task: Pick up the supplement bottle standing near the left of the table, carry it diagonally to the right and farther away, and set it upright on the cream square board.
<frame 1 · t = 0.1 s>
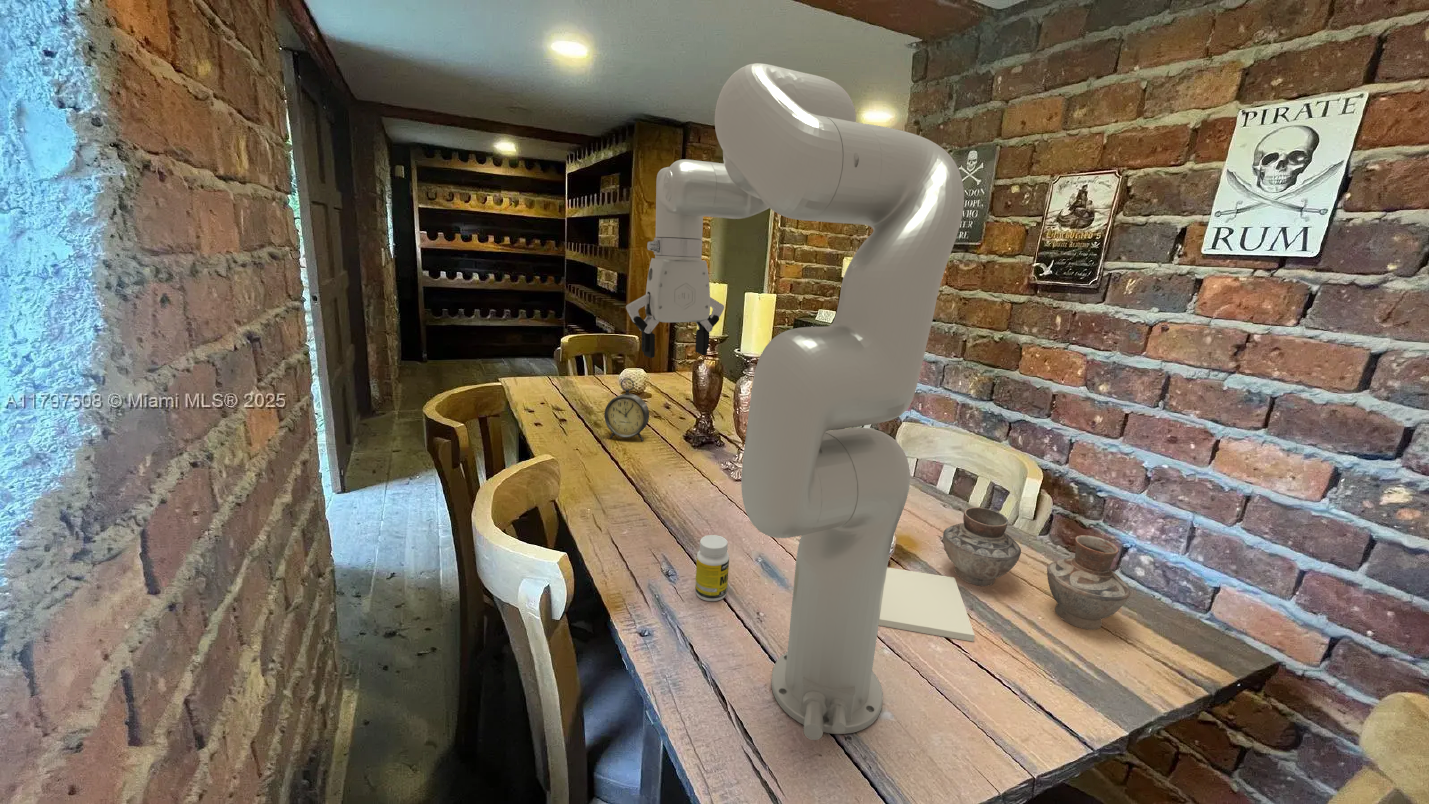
hand: (675, 355, 95), 31 cm above the table, tool pointing down, fingers open, 9 cm apart
cream board: (912, 601, 82), on the table
alarm clock: (627, 439, 146), on the table
supplement bottle: (711, 593, 82), on the table
pottery: (1020, 596, 86), on the table
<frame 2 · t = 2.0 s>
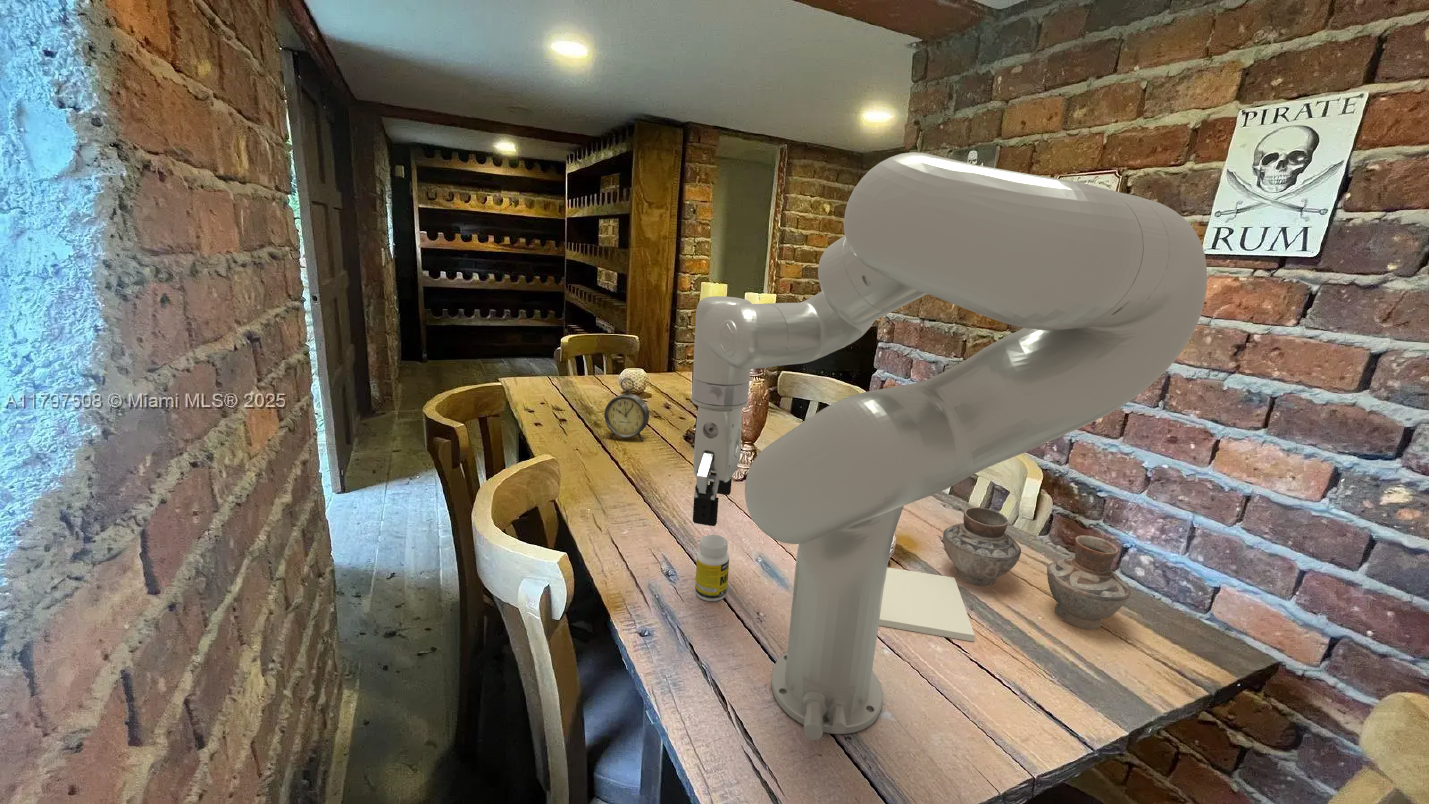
hand: (712, 507, 79), 13 cm above the table, tool pointing down, fingers open, 9 cm apart
nothing on the table moved.
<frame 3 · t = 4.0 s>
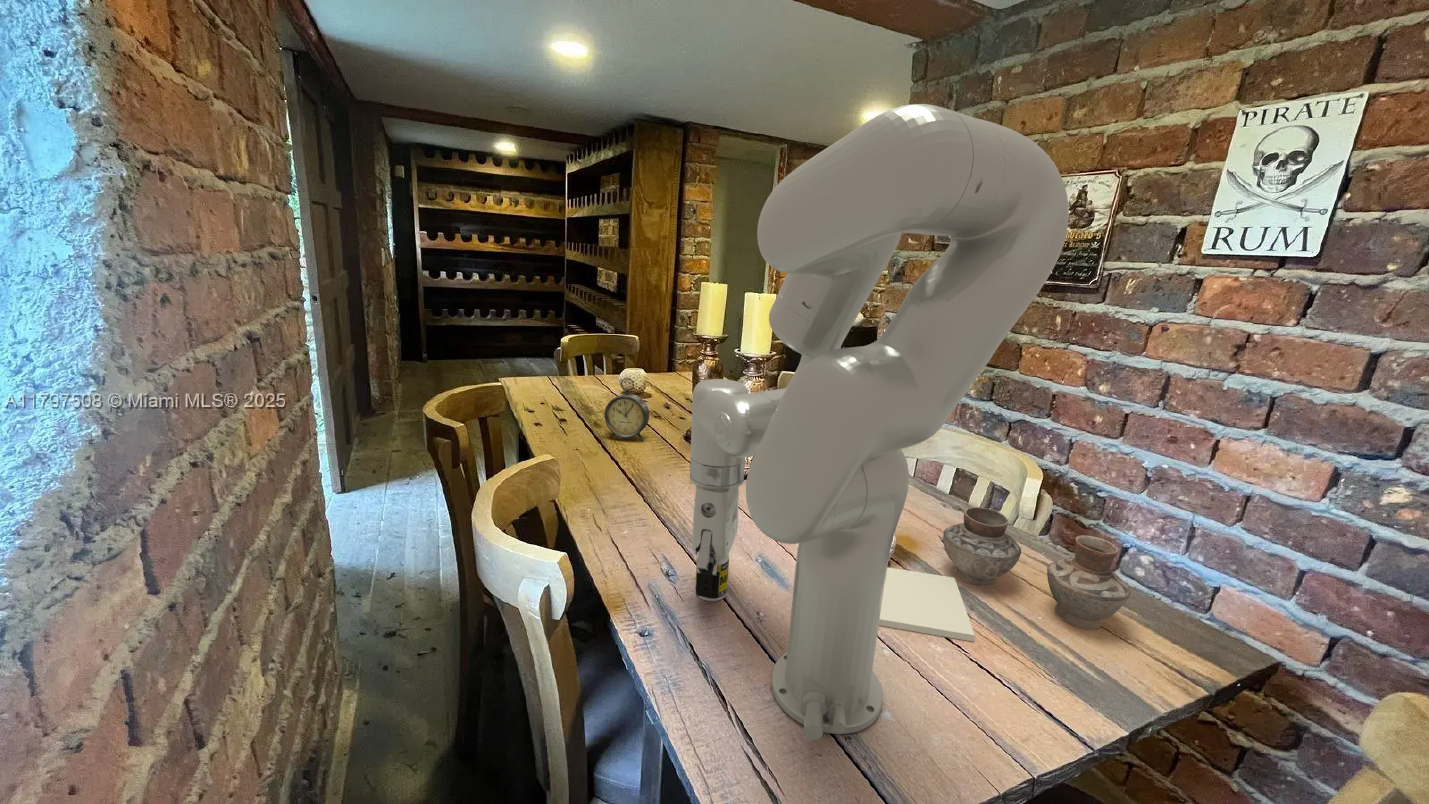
hand: (711, 583, 82), 1 cm above the table, tool pointing down, fingers closed on supplement bottle, 4 cm apart
supplement bottle: (711, 593, 82), on the table, touching gripper
everything else where it was.
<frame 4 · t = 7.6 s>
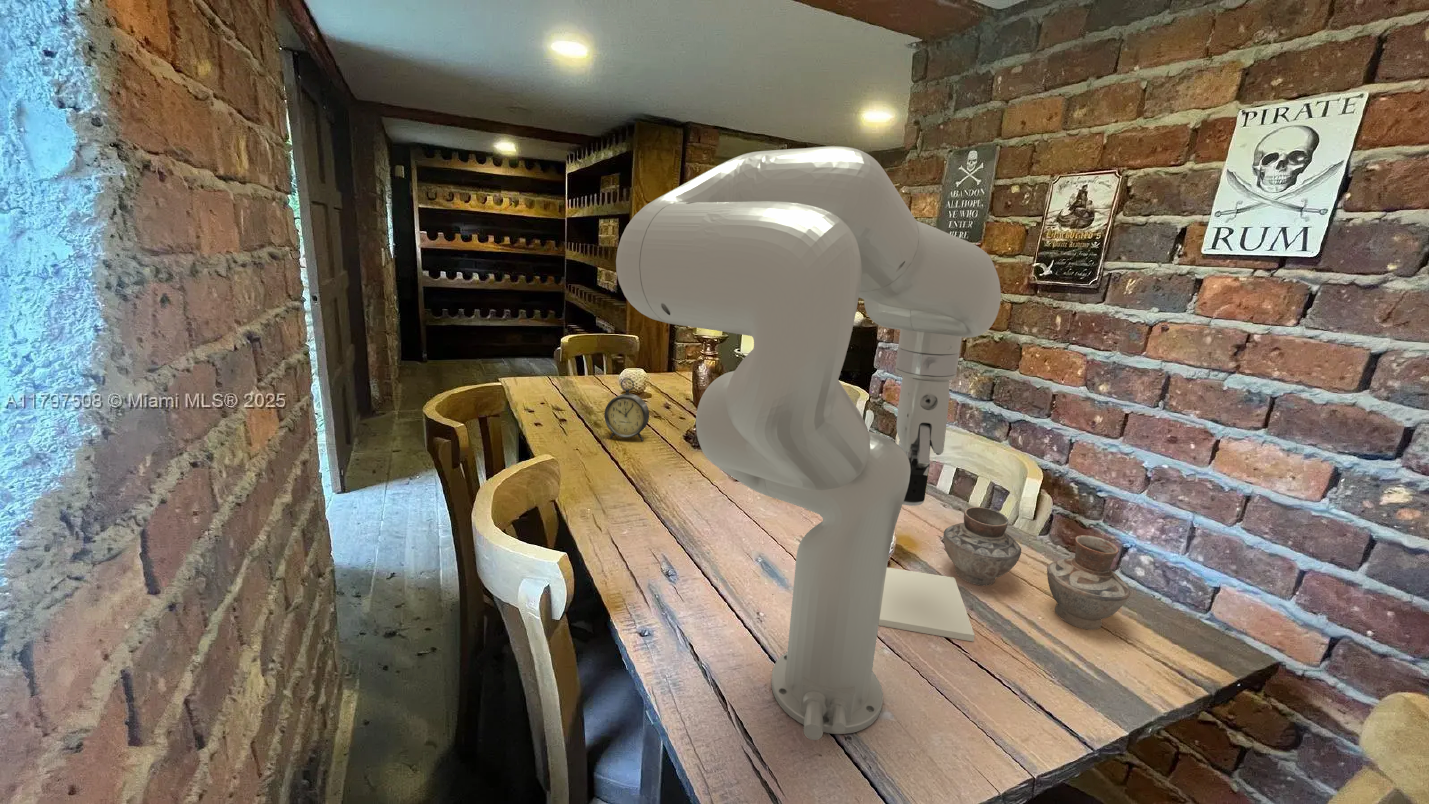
hand: (908, 489, 78), 18 cm above the table, tool pointing down, fingers closed on supplement bottle, 4 cm apart
supplement bottle: (906, 500, 78), point 16 cm above the table, touching gripper
everything else where it was.
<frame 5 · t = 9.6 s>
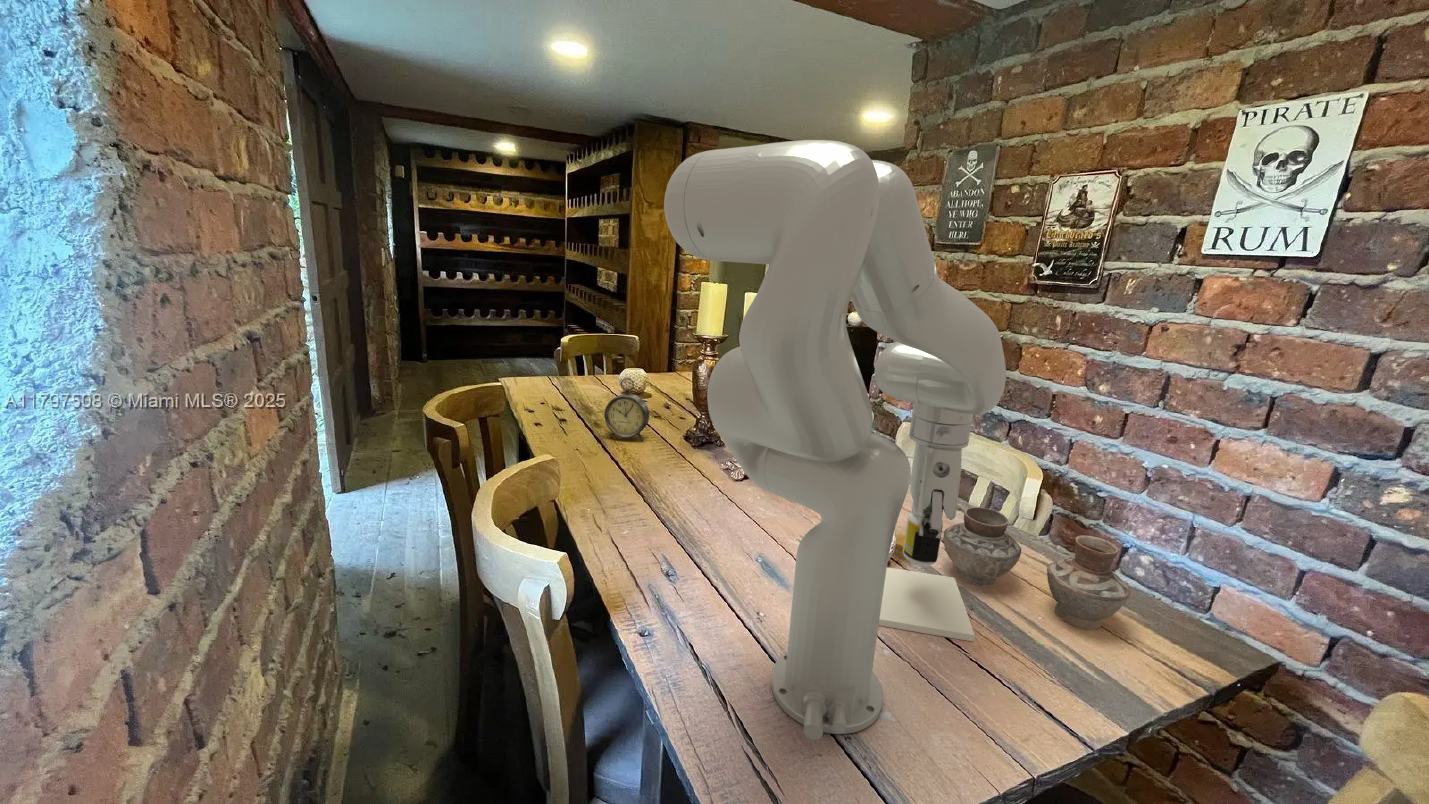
hand: (921, 548, 80), 9 cm above the table, tool pointing down, fingers closed on supplement bottle, 4 cm apart
supplement bottle: (919, 558, 81), point 7 cm above the table, touching gripper
everything else where it was.
when the fingers open (4 cm above the table, at t = 11.3 s): supplement bottle drops 1 cm, resting on cream board.
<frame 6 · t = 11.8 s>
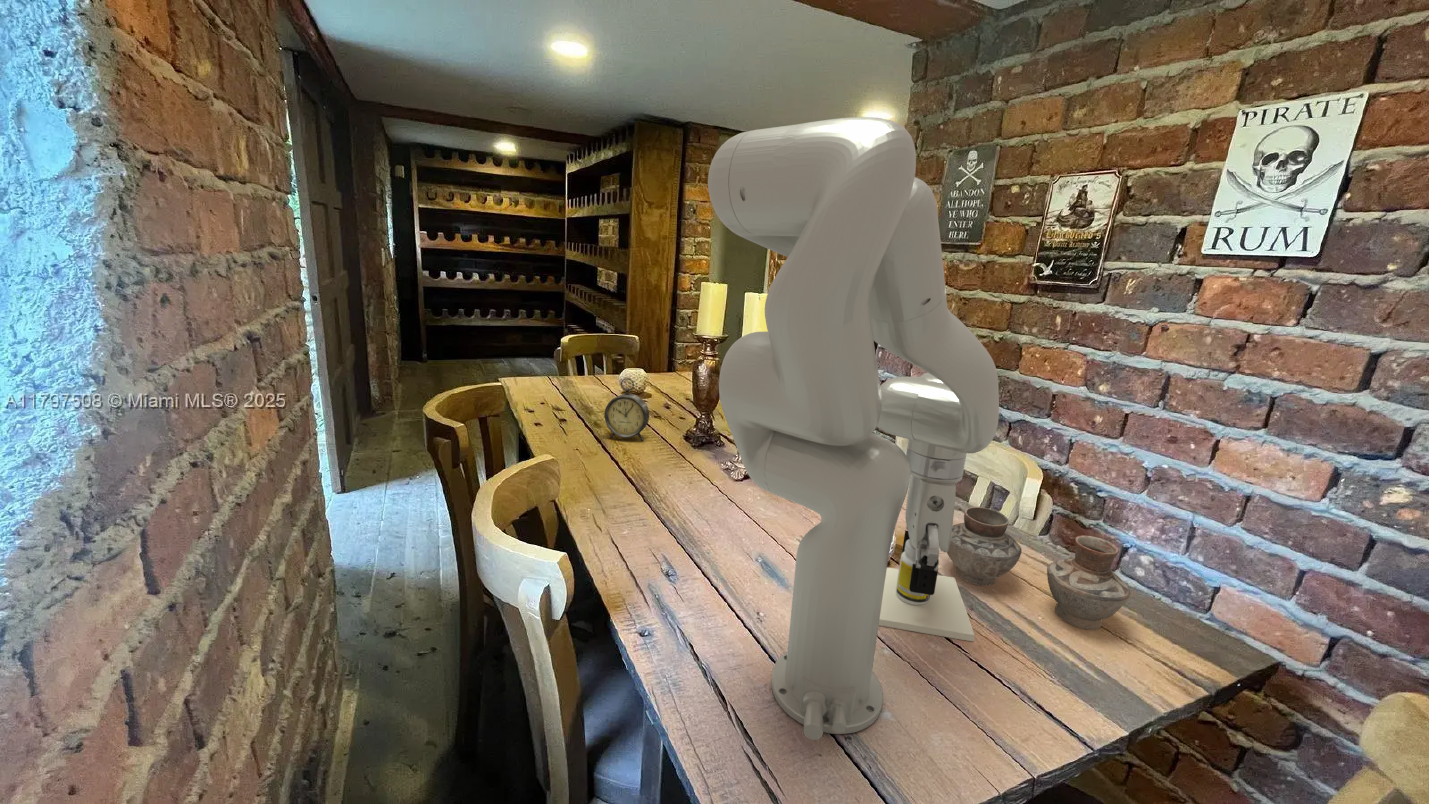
hand: (916, 573, 81), 5 cm above the table, tool pointing down, fingers open, 9 cm apart
supplement bottle: (912, 597, 82), point 1 cm above the table, touching cream board
everything else where it was.
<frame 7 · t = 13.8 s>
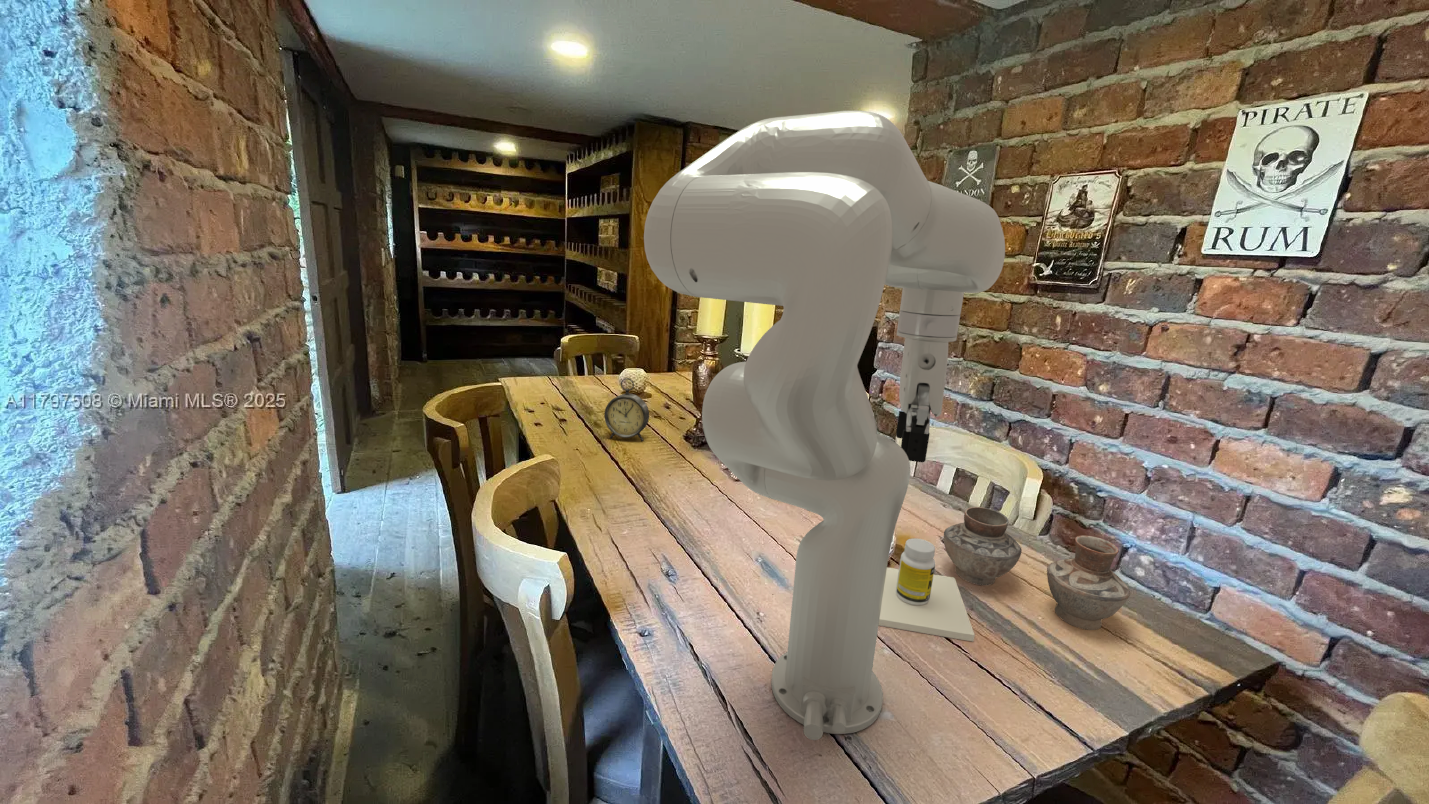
hand: (909, 448, 78), 23 cm above the table, tool pointing down, fingers open, 9 cm apart
nothing on the table moved.
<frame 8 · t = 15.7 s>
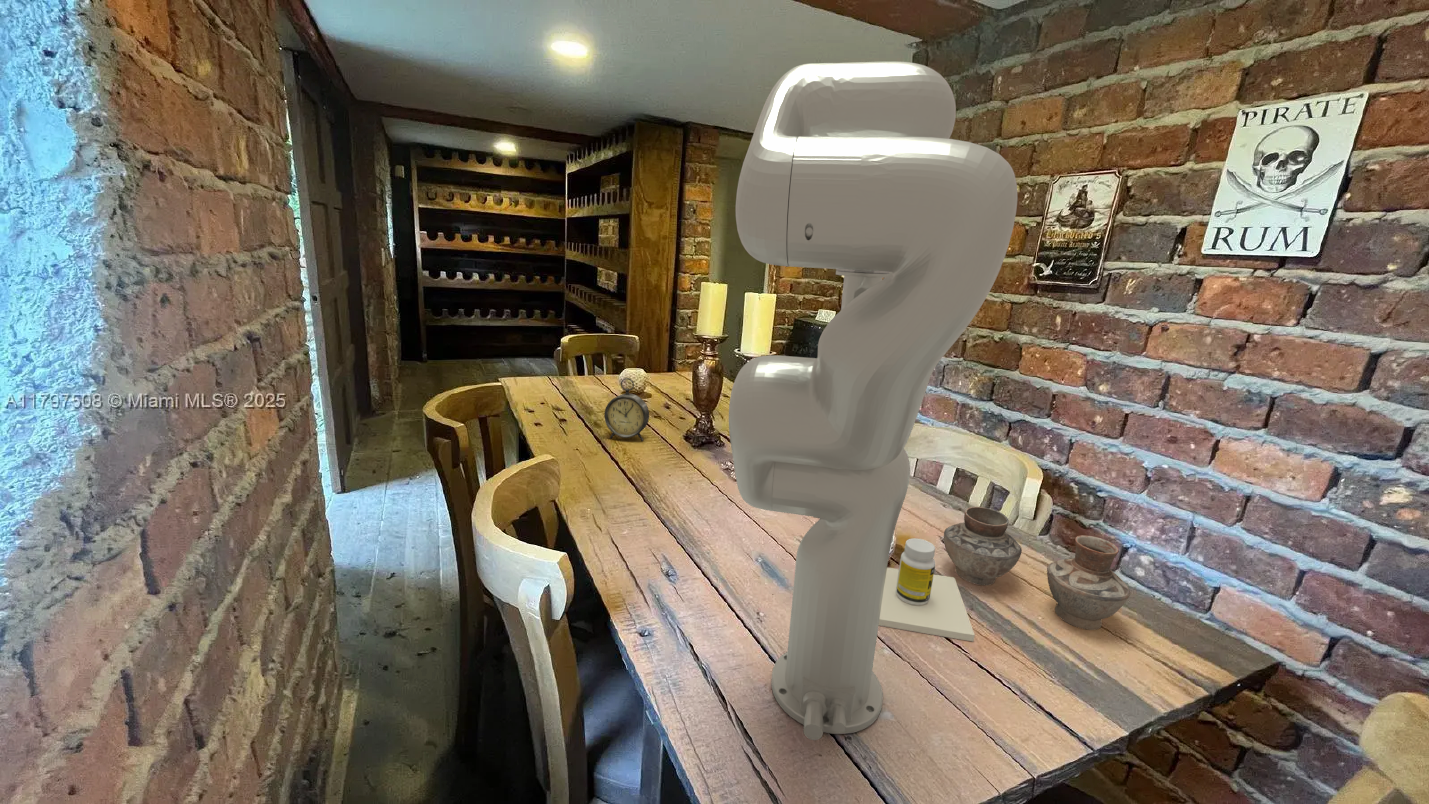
hand: (850, 383, 83), 30 cm above the table, tool pointing down, fingers open, 9 cm apart
nothing on the table moved.
at the end: supplement bottle inside the target area on the cream board (0.1 cm from its centre), point 0.8 cm above the cream board's base; supplement bottle tilted 0°; the gripper is holding nothing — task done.
